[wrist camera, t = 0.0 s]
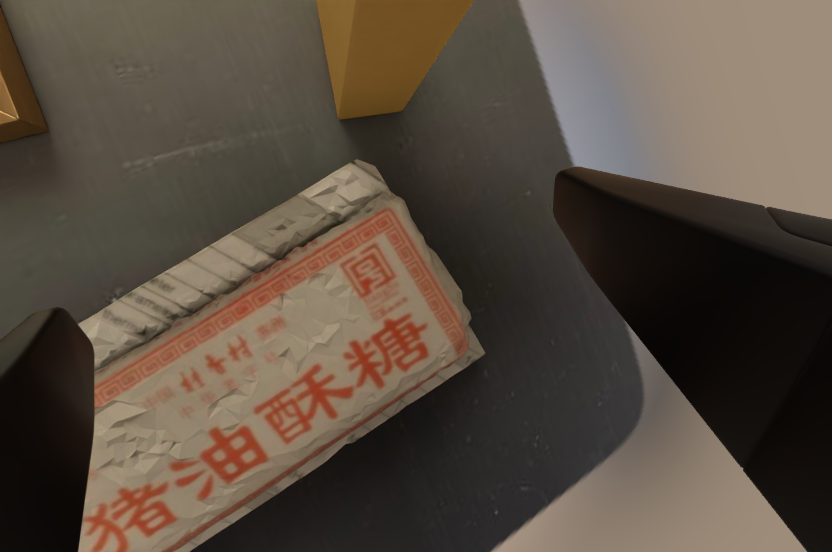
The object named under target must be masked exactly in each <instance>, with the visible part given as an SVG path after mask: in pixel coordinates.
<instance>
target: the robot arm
mask: <svg viewBox="0 0 832 552" xmlns="http://www.w3.org/2000/svg"><path fill="white" fill-rule="evenodd" d="M553 213H554V217H555V219H556V221H557V223H558V225H559V226H560V228H561V229H562V231H563V233H564V234H565V236H566V238H567V239H568V241H569V242H570V244H571V246H572V247H573V249H574V251H575V252H576V254H577V256H578V257H579V259H580V260H581V262H582V264H583V265H584V267H585V268H586V270H587V271H588V273H589V274H590V276H591V277H592V279H593V280H594V281H595V283H596V284H597V285H598V287H599V288H600V289H601V290H602V292H603V293H604V294H605V296H606V297H607V298H608V299H609V301H610V302H611V303H612V304H613V306H614V307H615V308H616V309H617V311H618V312H619V313H620V315H621V316H622V317H623V318H624V320H625V321H626V322H627V323H628V325H629V326H630V327H631V328H632V330H633V331H634V332H635V334H636V335H637V336H638V337H639V339H640V340H641V341H642V342H643V344H644V345H645V346H646V347H647V349H648V350H649V351H650V353H651V354H652V355H653V356H654V358H655V359H656V360H657V361H658V363H659V364H660V365H661V366H662V368H663V369H664V370H665V372H666V373H667V374H668V375H669V377H670V378H671V379H672V380H673V382H674V383H675V384H676V386H677V387H678V388H679V389H680V391H681V392H682V393H683V394H684V396H685V397H686V398H687V399H688V401H689V402H690V403H691V405H692V406H693V407H694V408H695V410H696V411H697V412H698V413H699V415H700V416H701V417H702V418H703V420H704V421H705V422H706V423H707V425H708V426H709V427H710V429H711V430H712V431H713V432H714V434H715V435H716V436H717V437H718V439H719V440H720V441H721V442H722V444H723V445H724V446H725V448H726V449H727V450H728V451H729V453H730V454H731V455H732V456H733V458H734V459H735V460H736V462H737V463H738V464H739V465H740V467H742V468H743V471H744V472H745V473H746V475H747V476H748V477H749V478H750V480H751V481H752V482H753V484H754V485H755V486H756V487H757V489H758V490H759V491H760V492H761V494H762V495H763V496H764V498H765V499H766V500H767V501H768V503H769V504H770V505H771V506H772V508H773V509H774V510H775V511H776V513H777V514H778V515H779V517H780V518H781V519H782V520H783V522H784V523H785V524H786V525H787V527H788V528H789V529H790V530H791V532H792V533H793V534H794V535H795V537H796V538H797V539H798V541H799V542H800V543H801V544H802V546H803V547H804V548H805V549H806V551H807V552H832V219H826V218H821V217H816V216H811V215H806V214H801V213H796V212H791V211H786V210H782V209H777V208H772V207H767V208H765V207H764V206H762V205H757V204H753V203H748V202H743V201H739V200H734V199H729V198H725V197H720V196H715V195H710V194H706V193H700V192H696V191H692V190H687V189H682V188H677V187H673V186H668V185H663V184H659V183H654V182H649V181H644V180H640V179H635V178H630V177H626V176H621V175H616V174H611V173H606V172H602V171H597V170H592V169H588V168H583V167H573V168H569V169H566V170H562V171H560V172H559V173H558V174H557V175H556V178H555V187H554V201H553ZM94 420H95V354H94V348H93V345H92V343H91V341H90V339H89V338H88V337H87V335H86V334H85V333H84V331H83V330H82V329H81V328H80V326H79V325H78V324H77V323H76V321H75V320H74V319H73V317H72V316H71V315H70V314H69V313H68V312H67V311H66V310H65V309H63V308H59V307H56V308H52V309H48V310H44V311H41V312H37V313H34V314H32V315H30V316H29V317H28V318H27V319H26V320H24V321H23V322H22V323H21V324H19V325H18V326H17V327H16V328H15V329H13V330H12V331H11V332H10V333H9V334H7V335H6V336H5V337H4V338H3V339H1V340H0V552H78V550H79V542H80V535H81V527H82V520H83V512H84V505H85V498H86V490H87V483H88V475H89V468H90V460H91V453H92V446H93V436H94Z"/></svg>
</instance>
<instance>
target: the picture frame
mask: <svg viewBox="0 0 832 552" xmlns="http://www.w3.org/2000/svg"><path fill="white" fill-rule="evenodd" d="M46 131H48V128H47V125H46V123H45V120H44V118H43V115H42V112H41V110H40V107H39V105H38V102H37V100H36V97H35V94H34V92H33V89H32V87H31V84H30V82H29V79H28V77H27V74H26V71H25V69H24V66H23V64H22V61H21V59H20V56H19V53H18V51H17V48H16V46H15V43H14V41H13V38H12V35H11V33H10V30H9V28H8V25H7V23H6V20H5V17H4V15H3V12H2V10H1V7H0V143H2V142H6V141H10V140H14V139H18V138H22V137H26V136H30V135H34V134H38V133H42V132H46Z"/></svg>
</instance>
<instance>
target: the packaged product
mask: <svg viewBox="0 0 832 552" xmlns="http://www.w3.org/2000/svg"><path fill="white" fill-rule="evenodd" d="M471 319H472V318H471V315H470V312H469V310H468V309H467V308H466V306H465V305H464V304H463V301H462V291H461V290H460V288H459V287H458V286H457V284H456V283H455V281H454V280H453V278H452V277H451V275H450V274H449V272H448V271H447V269H446V268H445V266H444V265H443V263H442V261H441V260H440V258H439V257H438V255H437V254H436V253H435V252H434V251H433V250H432V249H431V248H429V247H428V246H427V245H426V243H425V240H424V237H423V235H422V234H421V233H420V232H419V231H418V229H417V227H416V225H415V223H414V222H413V220H412V219H411V217H410V213H409V211H408V208H407V206H406V203H405V201H404V200H403V199H402V198H400V197H399V196H396V195H395V194H394V193H391V191H390V190H389V188H388V186H387V185H386V183H385V181H384V180H383V178H382V176H381V175H380V173H379V172H378V170H377V168H376V167H375V166H373V165H371V164H368V163H365V162H363V161H360V160H357V159H356V160H355V161H353V162H351V163H349V164H347V165H346V166H344V167H342V168H340V169H339V170H337V171H335V172H333V173H332V174H330V175H329V176H327V177H325V178H324V179H322V180H321V181H319V182H317V183H316V184H314V185H312V186H311V187H309V188H308V189H306V190H304V191H303V192H301V193H300V194H298V195H296V196H295V197H293V198H291V199H289V200H288V201H286V202H284V203H282V204H281V205H279V206H277V207H276V208H274V209H272V210H270V211H269V212H267V213H265V214H263V215H262V216H260V217H258V218H256V219H255V220H253V221H251V222H249V223H248V224H246V225H244V226H242V227H241V228H239V229H237V230H235V231H234V232H232V233H230V234H228V235H227V236H225V237H223V238H222V239H220V240H218V241H217V242H215V243H213V244H212V245H210V246H208V247H207V248H205V249H203V250H202V251H200V252H198V253H197V254H195V255H193V256H192V257H190V258H188V259H186V260H185V261H183V262H181V263H179V264H178V265H176V266H174V267H172V268H171V269H169V270H167V271H165V272H164V273H162V274H160V275H159V276H157V277H155V278H153V279H152V280H150V281H148V282H146V283H145V284H143V285H141V286H139V287H138V288H136V289H134V290H133V291H131V292H130V293H128V294H126V295H125V296H123V297H122V298H120V299H119V300H117V301H115V302H114V303H112V304H111V305H109V306H107V307H106V308H104V309H103V310H101V311H99V312H98V313H96V314H95V315H93V316H91V317H90V318H88V319H86V320H84V321H83V322H81V323H79V324H78V325H79V326H80V328H81V329H82V330H83V331H84V333H85V334H86V335H87V337H88V338H89V339H90V341H91V343H92V345H93V348H94V354H95V420H94V436H93V446H92V453H91V460H90V468H89V475H88V483H87V490H86V498H85V505H84V512H83V520H82V527H81V535H80V542H79V550H78V552H190V551H191V550H192V549H194V548H195V547H197V546H198V545H200V544H202V543H203V542H205V541H206V540H208V539H209V538H211V537H212V536H214V535H215V534H217V533H218V532H220V531H221V530H223V529H224V528H226V527H227V526H229V525H230V524H232V523H234V522H235V521H237V520H238V519H240V518H241V517H243V516H244V515H246V514H247V513H249V512H251V511H252V510H254V509H255V508H257V507H258V506H260V505H261V504H263V503H264V502H266V501H267V500H269V499H270V498H272V497H273V496H275V495H276V494H278V493H279V492H281V491H282V490H284V489H285V488H286V487H288V486H289V485H291V484H292V483H294V482H295V481H297V480H299V479H300V478H302V477H304V476H305V475H307V474H308V473H310V472H311V471H313V470H314V469H316V468H317V467H319V466H320V465H322V464H323V463H324V462H326V461H327V460H328V459H329V458H331V457H332V456H333V455H334V454H335V453H336V452H337V451H338V450H339V449H340V448H341V447H343V446H344V445H345V444H348V443H353V442H355V441H356V440H358V439H359V438H361V437H362V436H364V435H365V434H367V433H368V432H370V431H371V430H373V429H374V428H376V427H377V426H379V425H380V424H382V423H383V422H385V421H386V420H388V419H389V418H391V417H392V416H393V415H395V414H396V413H398V412H399V411H400V410H402V409H403V408H404V407H405V406H407V405H409V404H410V403H412V402H414V401H415V400H417V399H419V398H420V397H422V396H423V395H425V394H426V393H428V392H429V391H431V390H432V389H434V388H435V387H437V386H438V385H440V384H442V383H443V382H445V381H446V380H447V379H449V378H450V377H451V376H453V375H455V374H456V373H458V372H459V371H461V370H463V369H464V368H466V367H467V366H469V365H470V364H471V363H473V362H474V361H476V360H477V359H478V358H480V357H481V356H483V355H484V354H485V351H484V350H483V348H482V346H481V345H480V343H479V341H478V339H477V338H476V336H475V334H474V332H473V331H472V329H471V327H470V326H469V321H470V320H471Z"/></svg>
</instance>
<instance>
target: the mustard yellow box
mask: <svg viewBox="0 0 832 552" xmlns="http://www.w3.org/2000/svg"><path fill="white" fill-rule="evenodd" d="M473 1H474V0H316V4H317V9H318V14H319V20H320V25H321V30H322V36H323V41H324V46H325V52H326V57H327V62H328V68H329V73H330V78H331V84H332V89H333V95H334V100H335V105H336V111H337V116H338V119H340V120H341V119H349V118H356V117H363V116H371V115H378V114H385V113H393V112H400V111H403V109H404V108H405V106H406V105H407V103H408V102H409V100H410V98H411V97H412V95H413V94H414V92H415V91H416V89H417V88H418V86H419V85H420V83H421V81H422V80H423V78H424V77H425V75H426V74H427V72H428V71H429V69H430V68H431V66H432V64H433V63H434V61H435V60H436V58H437V57H438V55H439V54H440V52H441V51H442V49H443V48H444V46H445V44H446V43H447V41H448V40H449V38H450V37H451V35H452V34H453V32H454V31H455V29H456V27H457V26H458V24H459V23H460V21H461V20H462V18H463V17H464V15H465V14H466V12H467V10H468V9H469V7H470V6H471V4H472V3H473Z"/></svg>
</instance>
